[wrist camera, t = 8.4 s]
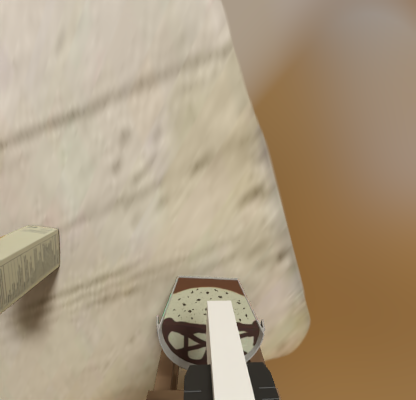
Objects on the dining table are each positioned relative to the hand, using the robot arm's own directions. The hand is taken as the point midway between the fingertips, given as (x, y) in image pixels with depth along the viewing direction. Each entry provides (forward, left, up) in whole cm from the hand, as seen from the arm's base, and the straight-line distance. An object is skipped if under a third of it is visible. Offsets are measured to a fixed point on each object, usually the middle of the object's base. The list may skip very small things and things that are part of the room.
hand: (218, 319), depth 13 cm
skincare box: (-24, -3, -17) cm, 29 cm away
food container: (0, -11, -17) cm, 20 cm away
